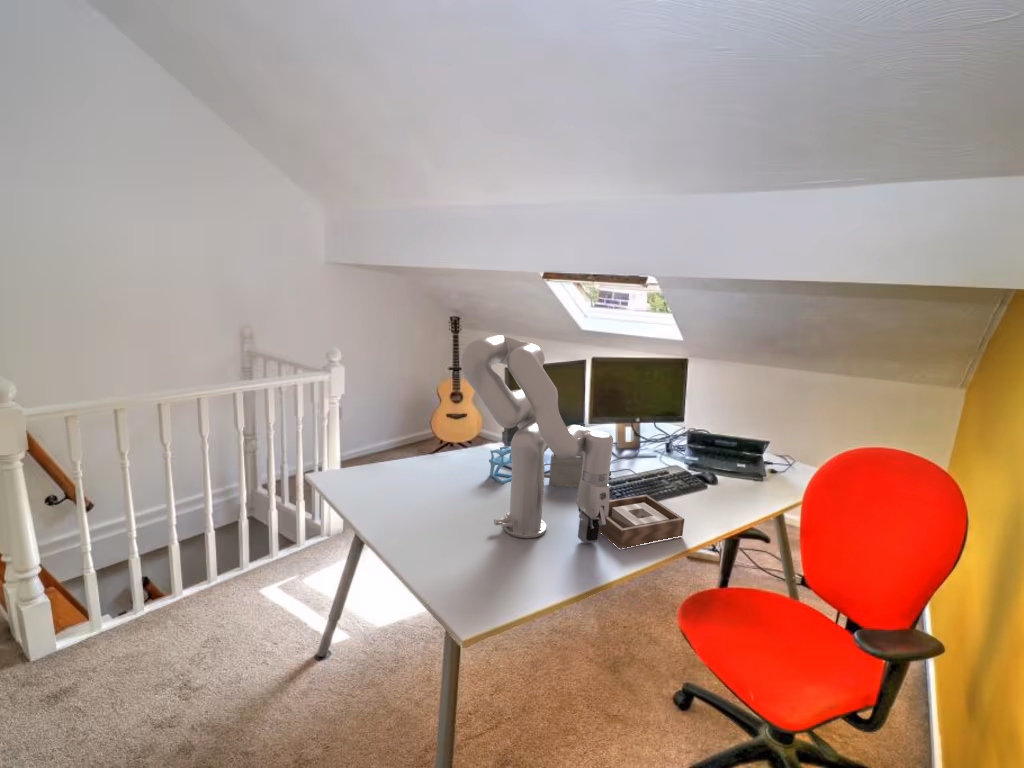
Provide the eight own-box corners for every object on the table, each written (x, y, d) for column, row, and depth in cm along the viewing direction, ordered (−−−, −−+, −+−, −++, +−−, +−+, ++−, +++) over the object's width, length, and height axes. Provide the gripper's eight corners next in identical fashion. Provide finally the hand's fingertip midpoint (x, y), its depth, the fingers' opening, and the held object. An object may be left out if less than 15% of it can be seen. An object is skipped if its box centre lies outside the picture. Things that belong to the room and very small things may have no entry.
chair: (498, 472, 206) (500, 441, 203) (516, 478, 200) (517, 447, 198) (485, 477, 200) (486, 446, 197) (502, 484, 195) (503, 452, 192)
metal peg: (584, 543, 154) (588, 517, 152) (577, 536, 157) (580, 511, 155) (597, 541, 155) (600, 516, 154) (589, 535, 159) (592, 509, 157)
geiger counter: (607, 448, 195) (537, 443, 197) (609, 454, 189) (536, 448, 191) (604, 485, 198) (535, 479, 200) (605, 492, 192) (534, 486, 194)
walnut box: (619, 550, 153) (621, 530, 152) (586, 521, 169) (587, 503, 168) (682, 537, 162) (684, 519, 161) (644, 511, 178) (646, 494, 177)
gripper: (623, 486, 146) (615, 548, 150) (590, 463, 161) (583, 520, 165) (599, 489, 143) (592, 552, 147) (568, 465, 158) (562, 523, 162)
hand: (587, 535), depth 156 cm, fingers closed on metal peg, 4 cm apart
